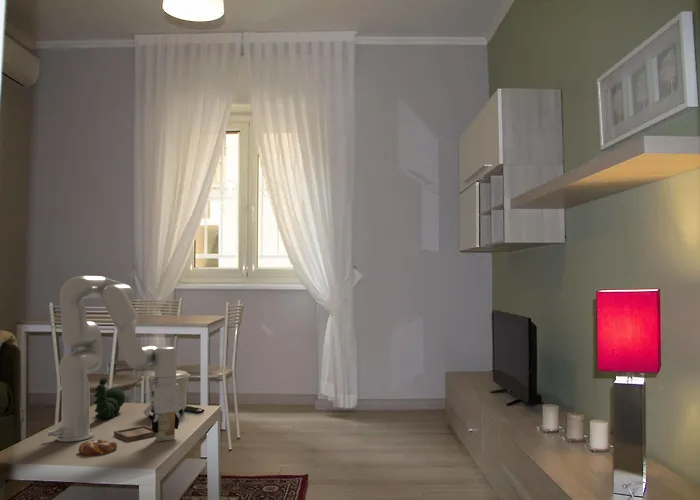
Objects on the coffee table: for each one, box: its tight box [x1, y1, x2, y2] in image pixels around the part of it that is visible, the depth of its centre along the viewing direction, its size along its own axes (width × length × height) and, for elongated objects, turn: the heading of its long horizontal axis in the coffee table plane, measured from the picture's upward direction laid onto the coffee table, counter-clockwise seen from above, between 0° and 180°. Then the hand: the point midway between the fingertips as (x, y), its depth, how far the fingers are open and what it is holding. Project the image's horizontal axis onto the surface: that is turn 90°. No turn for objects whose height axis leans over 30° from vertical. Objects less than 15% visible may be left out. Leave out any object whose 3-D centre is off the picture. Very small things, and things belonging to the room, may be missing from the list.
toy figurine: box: [93, 376, 126, 419], centre depth 249 cm, size 9×19×25 cm
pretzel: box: [78, 439, 118, 457], centre depth 197 cm, size 12×11×4 cm
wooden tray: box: [113, 425, 156, 443], centre depth 216 cm, size 12×12×2 cm
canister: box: [146, 369, 191, 412], centre depth 251 cm, size 18×18×21 cm
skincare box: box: [155, 411, 176, 442], centre depth 211 cm, size 6×4×12 cm
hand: (165, 430), depth 211 cm, fingers closed on skincare box, 7 cm apart
